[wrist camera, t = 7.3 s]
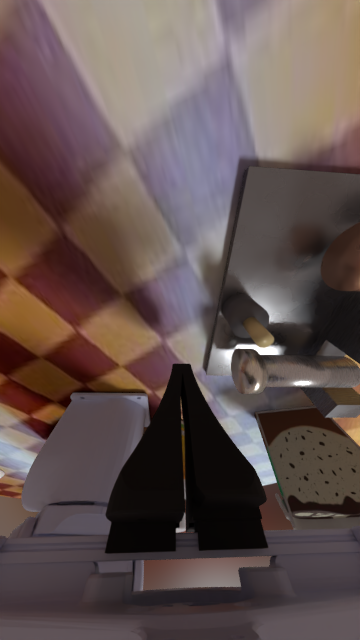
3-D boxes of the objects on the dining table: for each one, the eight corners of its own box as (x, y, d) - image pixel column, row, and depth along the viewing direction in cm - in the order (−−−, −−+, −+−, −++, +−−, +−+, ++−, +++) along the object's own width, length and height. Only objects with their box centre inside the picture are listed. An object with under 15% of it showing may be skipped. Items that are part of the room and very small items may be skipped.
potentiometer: (219, 321, 13) (237, 357, 9) (225, 293, 12) (249, 321, 8) (248, 321, 13) (278, 358, 9) (257, 294, 12) (297, 322, 8)
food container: (242, 431, 25) (277, 534, 16) (245, 413, 22) (289, 527, 13) (317, 424, 24) (393, 528, 16) (330, 404, 21) (435, 519, 13)
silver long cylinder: (228, 367, 15) (241, 403, 12) (236, 339, 13) (256, 372, 10) (314, 369, 15) (350, 403, 12) (335, 341, 13) (383, 374, 10)
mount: (205, 371, 17) (215, 417, 13) (244, 170, 8) (317, 102, 4) (311, 372, 18) (356, 417, 13) (451, 185, 9) (708, 139, 5)
